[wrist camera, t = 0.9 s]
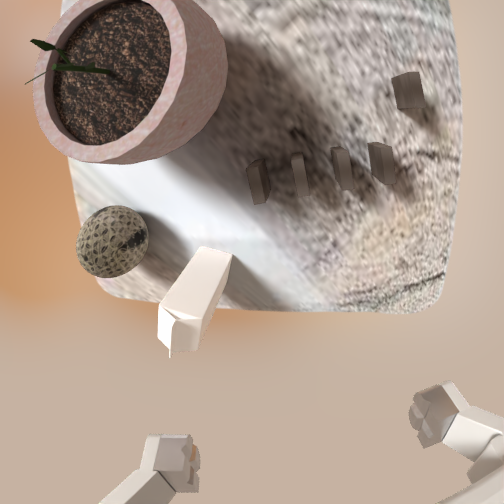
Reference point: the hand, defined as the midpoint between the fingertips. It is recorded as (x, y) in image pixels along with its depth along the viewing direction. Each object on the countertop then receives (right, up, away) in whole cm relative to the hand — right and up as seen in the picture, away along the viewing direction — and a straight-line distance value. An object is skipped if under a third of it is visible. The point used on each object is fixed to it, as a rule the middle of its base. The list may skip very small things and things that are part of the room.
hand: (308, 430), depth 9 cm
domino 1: (0, +18, +38) cm, 42 cm away
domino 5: (+21, +31, +29) cm, 47 cm away
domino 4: (+17, +21, +34) cm, 43 cm away
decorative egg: (-24, +11, +45) cm, 53 cm away
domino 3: (+11, +20, +35) cm, 42 cm away
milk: (-9, +4, +46) cm, 47 cm away
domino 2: (+6, +19, +37) cm, 42 cm away
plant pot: (-15, +34, +33) cm, 50 cm away
